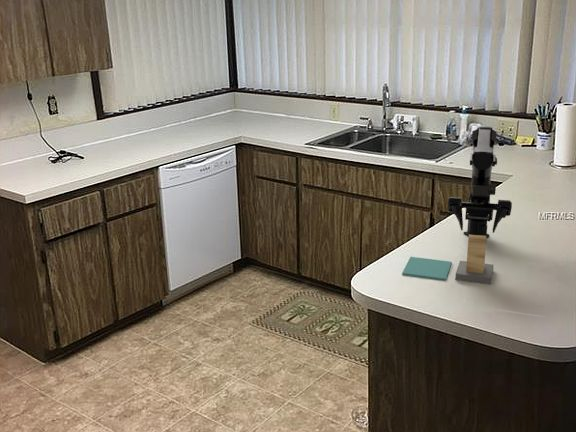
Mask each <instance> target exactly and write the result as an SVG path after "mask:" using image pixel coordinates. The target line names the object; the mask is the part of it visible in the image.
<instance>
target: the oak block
mask: <svg viewBox="0 0 576 432" xmlns="http://www.w3.org/2000/svg"><path fill="white" fill-rule="evenodd" d="M486 247H487V237H486V236H482V235H469V236H468V241H467V251H466V252H467V254H466V255H467V256H466V261H467V265H466V272H476V273H484V264H485V259H486V249H487V248H486Z"/></svg>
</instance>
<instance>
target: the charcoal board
mask: <svg viewBox="0 0 576 432" xmlns="http://www.w3.org/2000/svg"><path fill="white" fill-rule="evenodd" d="M466 265H467V260H466V261H465V260H459V263H458V265H457V268H456V271H455V278H454V279H455V281H461V282H471V283H479V284H486V285H491V282H492V278H493V271H494V264H493V263H492V264H490V263H484V273H476V272H466Z"/></svg>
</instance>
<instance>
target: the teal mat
mask: <svg viewBox="0 0 576 432" xmlns="http://www.w3.org/2000/svg"><path fill="white" fill-rule="evenodd" d="M451 266H452V261H451V260H450V261H448V260H441V259H432V258H425V257H415V256H410V257H409V258H408V261H407V263H406V265H405V267H404V268H403V271H402V272H401V275H402V276H410V277H418V278H424V279H432V280H440V281H446V280H447V277H448V275H449V273H450V269H451Z"/></svg>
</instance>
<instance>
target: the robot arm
mask: <svg viewBox="0 0 576 432" xmlns="http://www.w3.org/2000/svg"><path fill="white" fill-rule="evenodd" d="M497 135H498V132H497V131H495V129H493V127H491V126H478V127H477V128H476V129H473V130H472V132H471V145H473V147H472V153H470V157H469V166H471V169H472V170H471V171H472V173H471V182H470V183H471V184H470V193H469V197H468V201H462V197H460V196H450V197H448V198H447V199H448V200H447V211H448V212H449V213H451V214H452V215H455V217H456V219H457V221H458V225H459V228H460V231H463V230H464V229H463V228H464V221H463V219H464V218H465V219H464V220H465V221H466V220H467V230H466V231H463V235H465V236H468V237H469V235H482V236H486V238H488V237H490V234H489V233H488V222H491V221H493V219H494V222H493V225H492V233H493V234H494V233H495V231H496V229H497V227H498V226H499V223H500V222H501V220H502V219H505V218H507V217H509V216H511V212H512V210H513V209H512V207H513V206H512V205H513V202H512V201H511V200H510V199H508V200H507V199H498V200H497V201H498V202H497V203H492V202H491V196H495V195H496V190H497V184H496V183H491V179H492V178H491V176H492V171H493V170H492V169H493V167H496V166H497V165H498V158H497V155H496V154H494V147H495V146H496V145H497V139H498V137H497ZM463 209H465V216H464V218H463ZM494 211H496V212H495V217H494V218H493V216H494Z"/></svg>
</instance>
